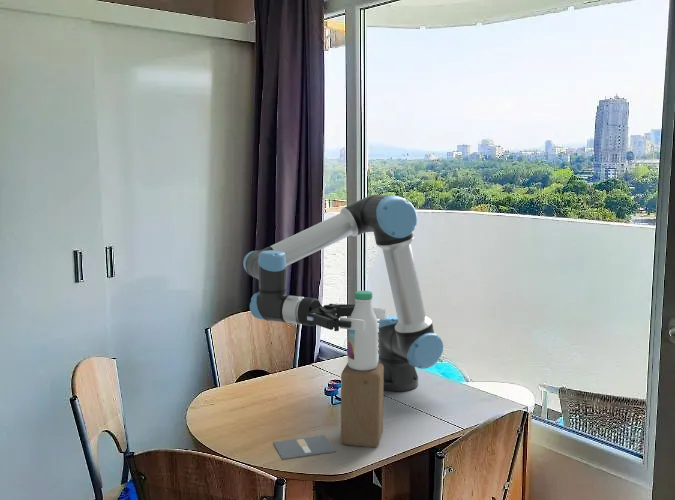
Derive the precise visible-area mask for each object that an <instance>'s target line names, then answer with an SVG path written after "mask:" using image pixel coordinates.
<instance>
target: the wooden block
mask: <svg viewBox="0 0 675 500" xmlns="http://www.w3.org/2000/svg"><path fill="white" fill-rule="evenodd" d="M340 376H341V377H340V378H341V379H340V380H341V381H340V387H341V388H340V442H341V444H342V445H346V446H356V447H367V448H377V447H378V446H379V444H380V442H381V439H382V435H383V431H384V389H383V388H384V366H383V364H381V363H378V362H377V367H376V368H375V369H373V370H367V371H360V370H354V369H351V368H350V367H349V366H348V362H347V363H346V365H345V366H344V368H343V370H342V371H341V374H340Z"/></svg>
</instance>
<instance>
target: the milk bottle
mask: <svg viewBox="0 0 675 500" xmlns="http://www.w3.org/2000/svg"><path fill="white" fill-rule="evenodd" d="M372 301H373V292H372V291H370V290H357V291H355V292H354V302H355V307H354V310H353V312H352V314H351V316H349V318H353V319H361V320H365V331H358V330H350V329H347V331H348V334H347V335H348V336H347V337H348V338H347V341H348V342H347V353H348V354H347V356H348V357H347V363H348V366H349V367H350V368H351V369H354V370H360V371H367V370H373V369H375V368H376V367H377V363H378V358H379V329H378V327H379V323H378V319H377V318H376V316H375V313H374V311H373V308H374V307H373V306H372V305H373V304H372Z"/></svg>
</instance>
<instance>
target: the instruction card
mask: <svg viewBox="0 0 675 500" xmlns="http://www.w3.org/2000/svg"><path fill="white" fill-rule="evenodd" d="M272 443H273V445H274V447H275V449H276V450H277V453H278V454H279V457H280V458H281V460H282V461H284V460H290V459H297V458H303V457H312V456H317V455H318V456H319V455H324V454H325V455H326V454H330V453H336V452H337V449H336V448H335V447H334V446H333V445H332V443H331V442H330V441H329V440H328V438H327V437H326V435H325V434H323V435H321V434H320V435H314V436H308V437H301V438H294V439H293V438H291V439H286V440H285V439H284V440H278V441H273V442H272Z"/></svg>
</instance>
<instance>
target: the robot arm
mask: <svg viewBox="0 0 675 500" xmlns="http://www.w3.org/2000/svg"><path fill="white" fill-rule="evenodd" d="M417 223H418V214H417V210H416V208H415V207H414V205H413V204H412V203H411V202H410V201H409V200H408V199H406V198H404V197H402V196H398V195H387V194H386V195H384V194H372V195H368V196H365V197H363V198H362V199H359V200H357V201H355V202H353V203H351V204H349V205H347V206H345V207H342V208H341V210H340V212H339V213H338V214H336V215H333V216H331V217H328V218H327V219H324V220H323V221H321V222H318V223H316V224H314V225H312V226H310V227H308V228H306V229H304V230H302V231H299V232H297V233H296V234H293V235H290V236H289V237H286V238H284V239H282V240H280V241H278V242H276V243H274V244H272V245H270V246H268V247H265V248H263V249H260V250H252V251H249V252H248V253H247V254H246V255H245V256H244V257H243V261H242V262H243V263H242V264H243V269H244V271H245V272H246V273H247V274H248V275H250V277H252V278H255V279H256V280H258V292H256V293H254V294H253V295H252V296H251V298H250V302H249V311H250V314H251V315H252V317H254V318H255V319H260V320H263V321H267V322H269V321H270V322H279V323H287V324H292V325H291V326H296V325H301V326H309V327H315V326H318V327H321V328H324V329H327V330H330V331H333V330H334V332H339V331H340V329H342V330H348V329H350V330H358V331H365V320H361V319H353V318H350V316H351V314H352V312H353V310H354V307H355V304H354V303H353V304H352V303H349V304H348V303H346V304H342V303H339V304H338V303H329V304H325V305H322V304H321V302H320V300H319V299H318V298H314V297H306V296H305V297H304V296H299V295H298V296H297V295H287V266H289V265H292V264H293V263H296V262H298V261H300V260H302V259H304V258H306V257H308V256H310V255H313V254H314V253H317V252H319V251H321V250H323V249H325V248H326V247H329V246H330V245H331V246H332V245H333V244H335V243H338V242H339V241H341V240H344V239H346V238H347V237H348V238H349V237H350V236H352V237H358V236H359V235H362V234H367V233H373V235H374V240H375V244H376V246H378V247H379V248H381V250H382V252H383V258H384V262H385V266H386V271H387V276H388V280H389V286H390V289H391V295H392V299H393V304H394V307H395V314H393V315H392V314H391V315H386V308H380V307H372V308H373V311H374V313H375V316H376V318H377V320H378V319H379V321H378V362H377V363H381V364H383V366H384V388H383V391H384V390H385V391H390V392H407V391H411V390H414V389H416V388H417V387H418V386H419V376H418V371H417V369H416V368H418V369H420V370H423V369H424V370H425V369H429V368H432V367H433V366H435V365H436V364H437V362H439V360H440V358H441V357H442V355H443V352H444V343H443V340H442V338H441V337H440V336H439V335H438V334H437V333H436V332H435V331H434V325H433V322H432V319H431V318H430V317H428V316H426V312H425V307H424V302H423V297H422V291H421V287H420V283H419V278H418V273H417V267H416V263H415V257H414V254H413V247H412V241H413V240H414V238H415V233H414V231H415V230H416V229H415V228H416V226H417Z"/></svg>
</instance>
